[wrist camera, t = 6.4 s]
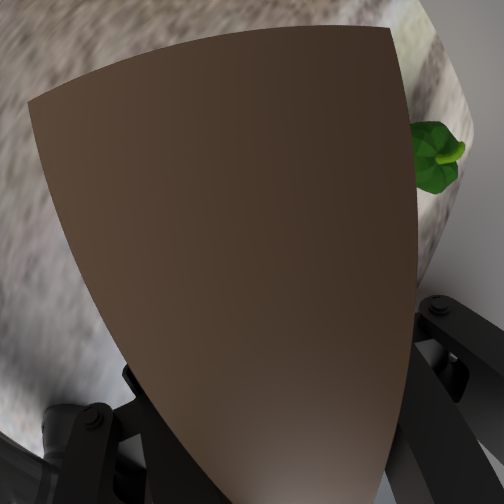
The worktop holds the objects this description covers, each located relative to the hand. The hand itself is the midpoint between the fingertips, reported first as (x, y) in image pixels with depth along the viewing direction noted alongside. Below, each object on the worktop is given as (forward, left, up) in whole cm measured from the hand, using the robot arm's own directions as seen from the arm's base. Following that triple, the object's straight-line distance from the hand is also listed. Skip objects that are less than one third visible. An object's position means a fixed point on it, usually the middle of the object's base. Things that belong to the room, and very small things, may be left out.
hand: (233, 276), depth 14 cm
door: (0, 0, -2) cm, 2 cm away
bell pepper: (+26, 0, -20) cm, 33 cm away
